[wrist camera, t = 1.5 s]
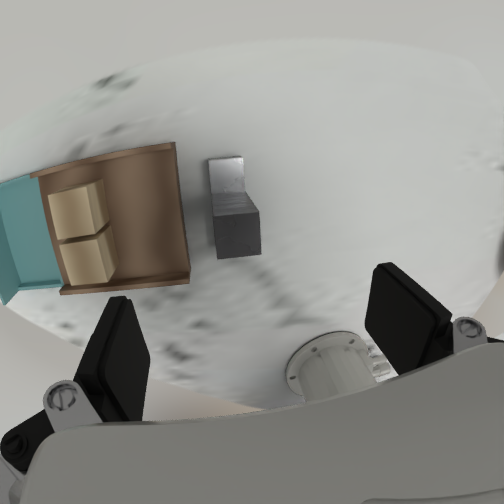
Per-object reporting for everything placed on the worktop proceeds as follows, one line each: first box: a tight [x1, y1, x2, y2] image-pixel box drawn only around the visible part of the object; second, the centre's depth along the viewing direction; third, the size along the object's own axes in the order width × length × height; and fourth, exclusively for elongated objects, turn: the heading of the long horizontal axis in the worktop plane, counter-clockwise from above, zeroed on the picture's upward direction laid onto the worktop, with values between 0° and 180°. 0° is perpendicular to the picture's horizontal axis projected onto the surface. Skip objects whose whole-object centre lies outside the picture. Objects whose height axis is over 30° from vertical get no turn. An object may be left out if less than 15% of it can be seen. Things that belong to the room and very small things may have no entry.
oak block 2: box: [59, 225, 119, 286], centre depth 24 cm, size 4×4×4 cm
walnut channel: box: [29, 142, 191, 295], centre depth 25 cm, size 14×13×4 cm
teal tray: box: [0, 174, 64, 305], centre depth 23 cm, size 8×13×5 cm, turn 4°
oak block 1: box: [48, 179, 110, 240], centre depth 22 cm, size 4×4×4 cm
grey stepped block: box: [208, 156, 261, 259], centre depth 24 cm, size 3×9×10 cm, turn 3°
